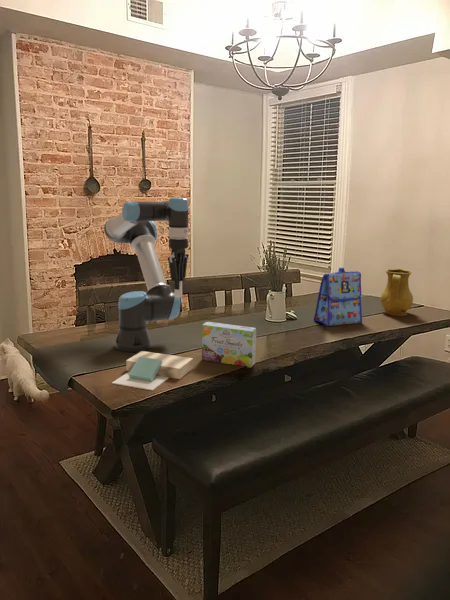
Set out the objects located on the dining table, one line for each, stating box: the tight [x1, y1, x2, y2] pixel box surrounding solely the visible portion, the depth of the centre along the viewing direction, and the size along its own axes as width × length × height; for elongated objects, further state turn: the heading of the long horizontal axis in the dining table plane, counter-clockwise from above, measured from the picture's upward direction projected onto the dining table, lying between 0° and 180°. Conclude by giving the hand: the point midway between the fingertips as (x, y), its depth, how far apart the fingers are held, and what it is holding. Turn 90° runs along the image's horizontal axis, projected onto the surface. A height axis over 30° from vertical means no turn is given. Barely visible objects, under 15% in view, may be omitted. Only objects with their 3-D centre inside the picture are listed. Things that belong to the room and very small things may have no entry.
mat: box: [111, 371, 169, 391], centre depth 180 cm, size 16×12×1 cm
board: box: [125, 350, 194, 380], centre depth 191 cm, size 22×12×4 cm, turn 70°
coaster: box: [128, 357, 162, 382], centre depth 183 cm, size 9×9×2 cm
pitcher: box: [379, 268, 414, 317], centre depth 281 cm, size 17×19×25 cm
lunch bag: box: [313, 267, 363, 327], centre depth 261 cm, size 22×14×29 cm, turn 114°
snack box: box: [201, 321, 257, 368], centre depth 199 cm, size 21×6×15 cm, turn 69°
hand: (178, 296), depth 203 cm, fingers closed
